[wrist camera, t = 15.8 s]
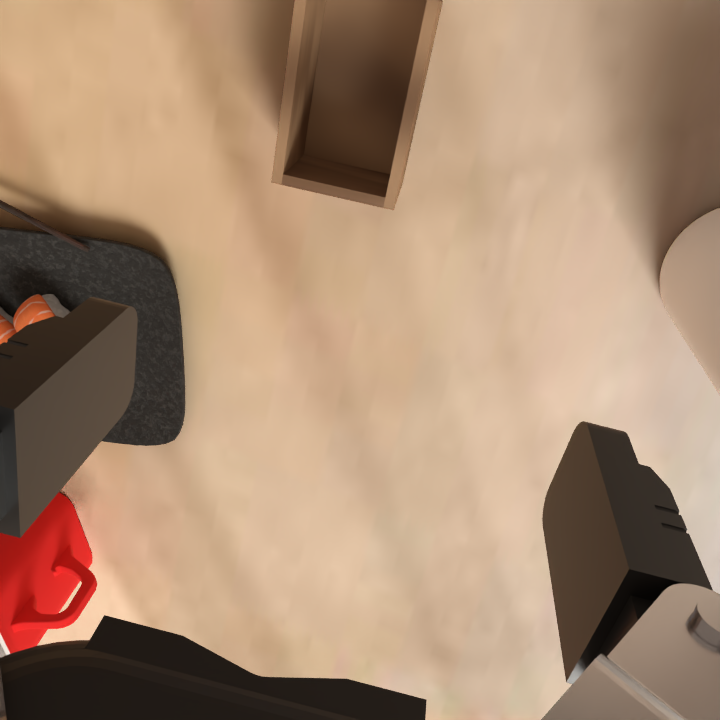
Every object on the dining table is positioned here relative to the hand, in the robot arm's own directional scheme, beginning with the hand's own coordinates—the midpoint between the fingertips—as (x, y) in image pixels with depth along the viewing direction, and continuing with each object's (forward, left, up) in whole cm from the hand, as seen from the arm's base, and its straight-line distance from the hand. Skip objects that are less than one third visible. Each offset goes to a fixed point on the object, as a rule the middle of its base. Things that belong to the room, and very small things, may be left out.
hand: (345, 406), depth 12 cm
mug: (+40, -2, -27) cm, 48 cm away
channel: (0, -4, -27) cm, 28 cm away
